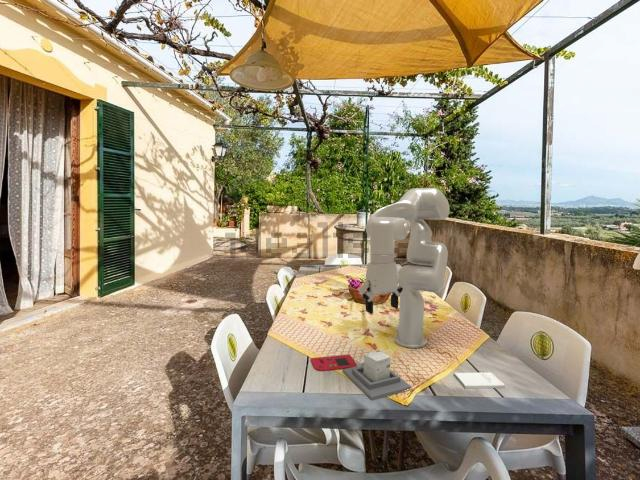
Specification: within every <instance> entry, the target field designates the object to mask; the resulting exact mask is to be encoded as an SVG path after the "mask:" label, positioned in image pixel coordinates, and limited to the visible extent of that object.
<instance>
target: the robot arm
mask: <svg viewBox="0 0 640 480" xmlns="http://www.w3.org/2000/svg"><path fill="white" fill-rule="evenodd" d="M449 214H450V204H449V201H448V199H447V197H446V196H445V194H444V193H443V192H442V191H441V189H439V188H437V187H416V188H415V187H414V188H410V189H409V190H407V191H406V192H405V193H404V194H403V195H402V196H401V197H400V198H399V200H397V202H394V203H391V204H389V205H386V206H384V207H380V208H378V209H377V210H376V211H374V212H373V214H371V215H370V217H369V218H368V220H367V222H366V225H365V231H366V234H367V235H368V237H369V240H370V244H369V245H370V247H369V251H370V252H369V254H370V260H369V261H370V262H368V263H367V266H366V271H365V281H364V282H365V283H364V284H362V285H360V287H358V288H357V290H358V292H359V294H360V296H361V298H363V300H364V301H365V302H364V303H365V305H364V306H365V312H366V313H369V314H374V301H373V299H374V297H375V296H381V295H386V294H390V307H392V308H394V309H396V310H397V309H399V311H398V312H399V316H398V317H399V318H398V320H399V321H398V326H397V327H395V328H394V331H396V332H397V335H396V336H395V337H394V342H395V343H396V344H397V345H399V346H401V347H405V348H410V349H420V348H423V347H426V345H427V343H428V341H427V339H426V337H424V315H425V314H424V313H425V312H424V311H425V299H424V297H423V295H422V293H421V291H422V292H428V293H439V292H441V290H443V287H444V282H445V275H446V271H447V265H448V257H449V254H448V252H449V251H448V248H447V246H446V244H444V243H443V242H437V241H432V236H433V231H432V229H431V227H430V226H429V224H427V222H426V221H425V220H431V221H432V220H433V221H434V220H438V221H441V220H445V219H447V218H448V216H449ZM409 233H410V235H409ZM408 235H409V240H408V246H407V250H406V260H407V261H408V262H409V263H410V264H411V265H410V264H407V265H403V266H402V267H400V268H399V269H397V264H396V263H397V262H396V261H395V258H397V256H398V255H397V253H396V252H395V241H402V240H404V239H406V238H407V237H408ZM412 264H414V265H412ZM431 266H432V267H431Z"/></svg>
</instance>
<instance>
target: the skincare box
mask: <svg viewBox="0 0 640 480" xmlns="http://www.w3.org/2000/svg"><path fill="white" fill-rule="evenodd" d="M363 359H364V376H365V377H367V378H368V379H370V380H371V381H373V382H376V381H380V380H384V379H388V378H390V370H391V356H390V355H389V354H387V353H384V352H382V351H381V350H374V351H370V352H366V353H364V354H363Z"/></svg>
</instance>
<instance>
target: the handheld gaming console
mask: <svg viewBox="0 0 640 480" xmlns="http://www.w3.org/2000/svg"><path fill="white" fill-rule="evenodd" d="M310 363H311V365H312V367H313V369H314V370H315V371H318V372H330V371H337V370H338V371H339V370H343V369H347V368H351V367H356V366H357V362H356V361H355V360H354V358H353V357H352V356H351V355H350V354H341V355H340V354H339V355H329V356H319V357H311V358H310Z"/></svg>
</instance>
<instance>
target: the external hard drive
mask: <svg viewBox="0 0 640 480" xmlns="http://www.w3.org/2000/svg"><path fill="white" fill-rule="evenodd" d="M453 377H454V378H455V379H456V380H457V381H458V382H459V384H460V385H461V386H462V387H463V388H464V389H465V390H466V389H470V390H471V389H473V390H474V389H504V388H505V383H503V382H502V381H501V380H500V379H499V378H498V377H497V376H496V375H495V374H493V373H492V372H454V373H453Z"/></svg>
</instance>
